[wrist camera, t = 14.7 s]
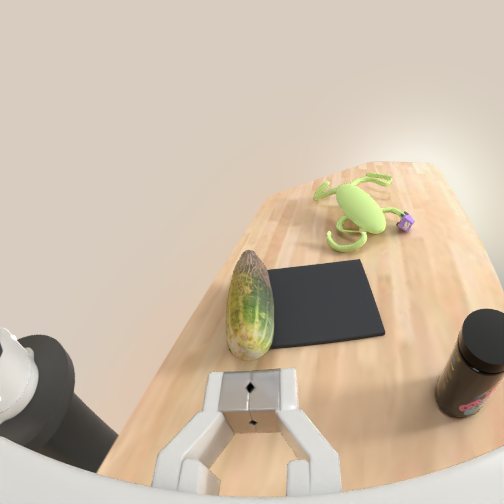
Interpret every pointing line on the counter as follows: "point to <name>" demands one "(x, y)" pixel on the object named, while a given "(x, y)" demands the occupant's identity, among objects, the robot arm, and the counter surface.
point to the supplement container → (473, 364)
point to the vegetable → (250, 309)
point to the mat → (323, 304)
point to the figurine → (361, 210)
